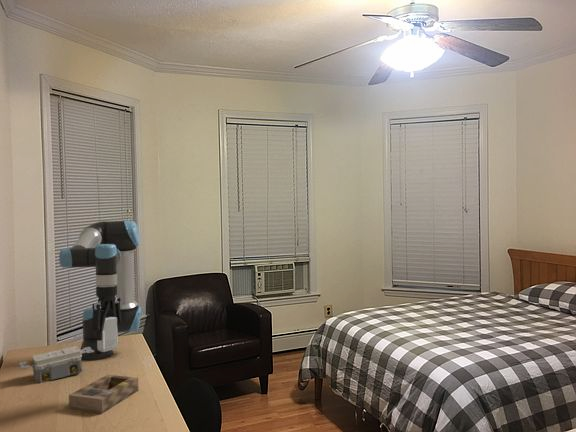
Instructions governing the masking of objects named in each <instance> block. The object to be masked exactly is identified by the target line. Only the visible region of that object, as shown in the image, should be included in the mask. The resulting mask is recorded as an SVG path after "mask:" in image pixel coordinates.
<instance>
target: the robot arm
mask: <svg viewBox="0 0 576 432" xmlns="http://www.w3.org/2000/svg"><path fill="white" fill-rule="evenodd" d="M139 245H140V233H139V229H138V225H137V223H136V222H135V221H133V220H131V221H130V220H115V221H114V220H113V221H111V220H110V221H108V220H107V221H106V220H105V221H97V222H94V223H92V224H90V225H87V226H86V227H85V228H83V229H82V230H81V232H80V233H79V236H78V239H77V240H76V242H75V243H74V244H73V245H72V247H70V248H69V247H68V248H67V247H66V248H62V249H61V250H59V256H58V260H59V265H60V267H61V268H63V269H64V268H65V269H67V268H68V269H73V268H74V269H75V268H95V285H96V287H95V295H96V297H98V300H97V303H92V306H91V307H89V308H86V309H84V310H83V312H82V319H81V321H82V343H81V346H80V348H79V349H80V350H82V349H83V348H86V347H91V348H90V349H92V350H94V352H92V353H83V354H82V357H81V360H85V361H98V360H103V359H106V358H109V357H111V356H113V354H114V350H110V351H106V352H101V351H99V350H98V349H105V331H103V327H104V322H105V318H106V317H116V318H117V344H118V343H119V340H118V339H119V338H118V336H119V333H130V332H131V333H132V332H133V333H134V332H137V331H138V330H139V328H140V325H141V317H142V307H141V306H139V303H138V302H137V301H136V300H135V276H134V270H135V269H134V252H135V251H136V250H137V246H139ZM85 351H86V350H85Z"/></svg>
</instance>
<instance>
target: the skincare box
mask: <svg viewBox="0 0 576 432" xmlns="http://www.w3.org/2000/svg"><path fill="white" fill-rule="evenodd" d="M103 331H105V349H98V350H99V351H101V352H106V351H110V350H113V351H114V350H118V343H117V318H116V317H106V318H105V322H104V327H103Z"/></svg>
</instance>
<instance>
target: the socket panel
mask: <svg viewBox="0 0 576 432" xmlns="http://www.w3.org/2000/svg"><path fill="white" fill-rule="evenodd" d="M137 392H139V377H133V376H124V375H115V374H106V375H104V376H103V377H100V378H99V379H97V380H95V381H93V382H90V383H89V384H87V385H85V386H83V387H81V388H79V389H77V390H76V391H74V392H72V393H70V394H69V395H68V409H69V410H74V411H80V412H88V413H96V414H102V415H103V414H104V413H106V412H107V411H108V410H111V409H112V408H113V407H115V406H116V405H118V404H120V403H121V402H124V401H125V400H126V399H127V398H129V397H131V396H132V395H134V394H135V393H137Z"/></svg>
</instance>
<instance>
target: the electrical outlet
mask: <svg viewBox="0 0 576 432" xmlns="http://www.w3.org/2000/svg"><path fill="white" fill-rule="evenodd" d="M90 348H91V347H86V348H83V349H82V350H80V349H81V348H79V347H78V345H74V346H69V347H66V348H62V349H58V350H52V351H48V352H45V353H39V354H36V355H32V356H31V357H32V358H31V360H29V361H21V362H18V363H17V364H18V366H19V367H20V370H25V369H28V368H30V367H32V372H33V378H34V380H35V382H36V383H39V384H41V383H45V382H49V381H51V380H52V381H53V380H56V379H60V378H65V377H69V376H72V375H79V374H81V373H82V372H83V364H82V359H81V357H82V354H83V353H92V352H94V350H92V349H90ZM85 350H86V351H85Z"/></svg>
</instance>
